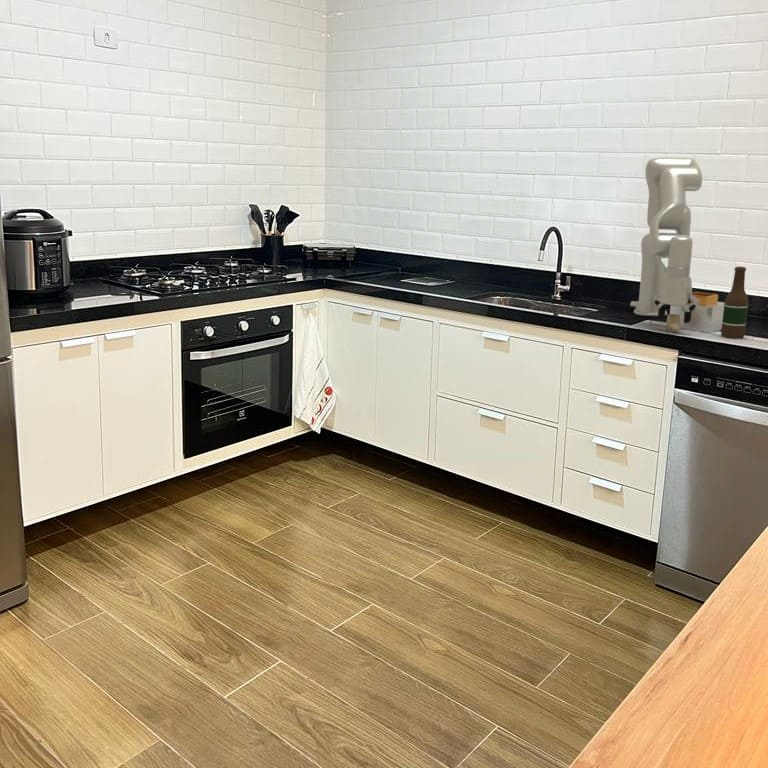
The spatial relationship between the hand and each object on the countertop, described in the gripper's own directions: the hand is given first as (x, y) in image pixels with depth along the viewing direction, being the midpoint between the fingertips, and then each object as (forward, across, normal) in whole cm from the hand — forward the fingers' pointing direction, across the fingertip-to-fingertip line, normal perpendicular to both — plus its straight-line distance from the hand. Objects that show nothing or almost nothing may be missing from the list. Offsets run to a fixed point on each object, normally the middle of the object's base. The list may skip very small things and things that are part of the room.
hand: (673, 321), depth 295 cm
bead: (+4, 0, 0) cm, 4 cm away
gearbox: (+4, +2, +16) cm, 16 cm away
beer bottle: (+4, +18, +9) cm, 20 cm away
